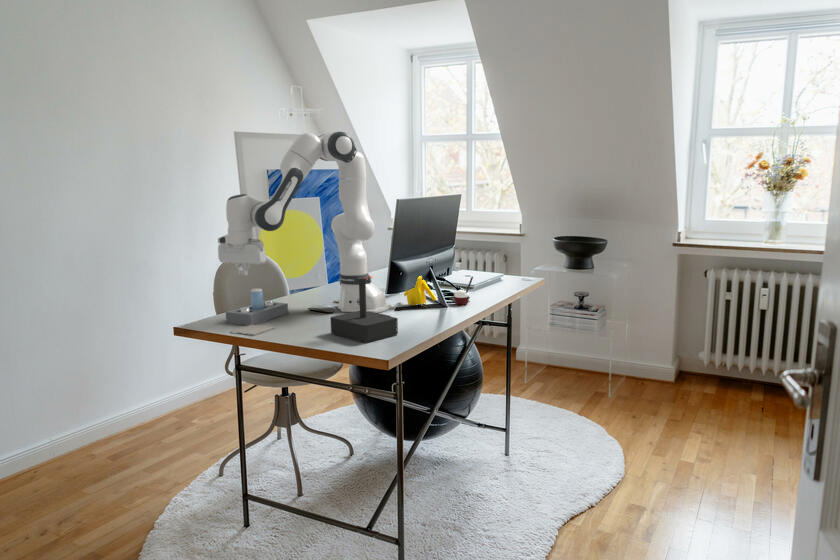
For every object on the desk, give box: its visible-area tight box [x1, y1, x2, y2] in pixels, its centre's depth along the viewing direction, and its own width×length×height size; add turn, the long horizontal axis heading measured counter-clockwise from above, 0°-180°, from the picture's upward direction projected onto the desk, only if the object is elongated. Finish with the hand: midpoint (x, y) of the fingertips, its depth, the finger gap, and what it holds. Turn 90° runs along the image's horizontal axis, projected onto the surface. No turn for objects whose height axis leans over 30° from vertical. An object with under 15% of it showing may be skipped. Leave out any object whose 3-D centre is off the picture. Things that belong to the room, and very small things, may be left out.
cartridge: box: [250, 288, 264, 310], centre depth 246 cm, size 5×5×11 cm
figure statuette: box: [403, 275, 437, 306], centre depth 264 cm, size 18×8×22 cm, turn 50°
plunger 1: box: [240, 306, 250, 313], centre depth 240 cm, size 3×3×4 cm
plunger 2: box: [265, 300, 274, 306], centre depth 252 cm, size 3×3×4 cm
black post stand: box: [330, 277, 399, 344], centre depth 218 cm, size 19×17×20 cm
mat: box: [229, 324, 276, 336], centre depth 226 cm, size 11×11×1 cm
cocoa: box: [450, 276, 474, 306], centre depth 264 cm, size 10×6×12 cm, turn 48°
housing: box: [225, 300, 289, 326], centre depth 246 cm, size 22×12×4 cm, turn 154°
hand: (243, 275), depth 238 cm, fingers closed
